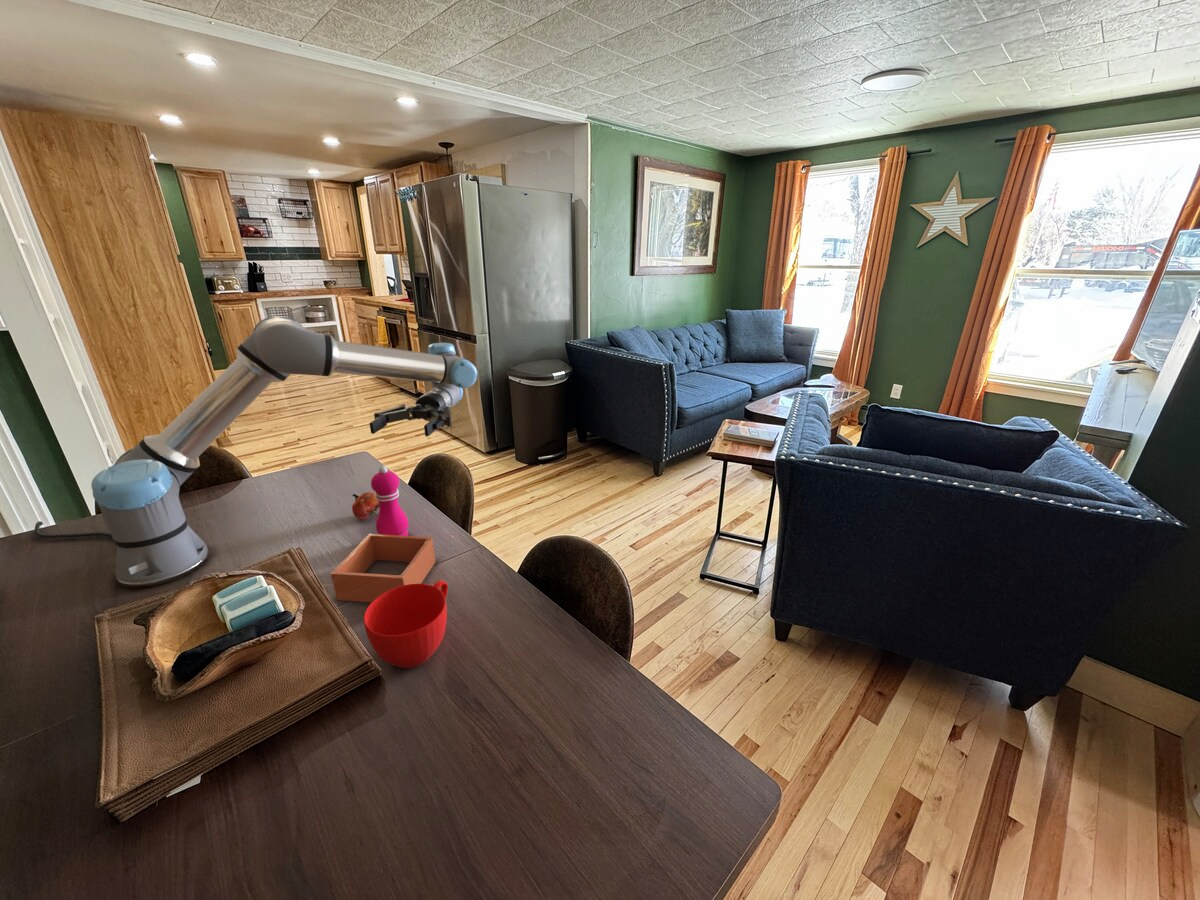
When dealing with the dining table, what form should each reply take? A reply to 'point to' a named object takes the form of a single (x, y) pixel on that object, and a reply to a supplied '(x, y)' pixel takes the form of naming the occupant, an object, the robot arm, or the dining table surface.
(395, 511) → the pepper mill
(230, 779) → the dining table surface
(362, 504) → the pomegranate
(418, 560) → the open wooden tray
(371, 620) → the ceramic cup
